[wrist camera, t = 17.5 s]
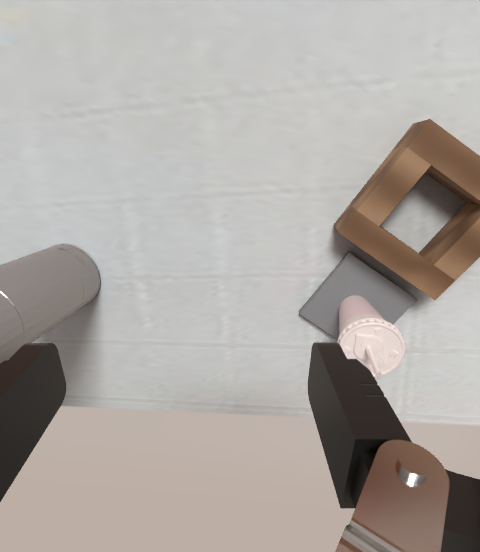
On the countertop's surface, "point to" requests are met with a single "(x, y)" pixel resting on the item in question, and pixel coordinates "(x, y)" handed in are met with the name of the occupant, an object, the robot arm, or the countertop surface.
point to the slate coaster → (355, 281)
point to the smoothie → (369, 337)
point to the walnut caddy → (391, 190)
